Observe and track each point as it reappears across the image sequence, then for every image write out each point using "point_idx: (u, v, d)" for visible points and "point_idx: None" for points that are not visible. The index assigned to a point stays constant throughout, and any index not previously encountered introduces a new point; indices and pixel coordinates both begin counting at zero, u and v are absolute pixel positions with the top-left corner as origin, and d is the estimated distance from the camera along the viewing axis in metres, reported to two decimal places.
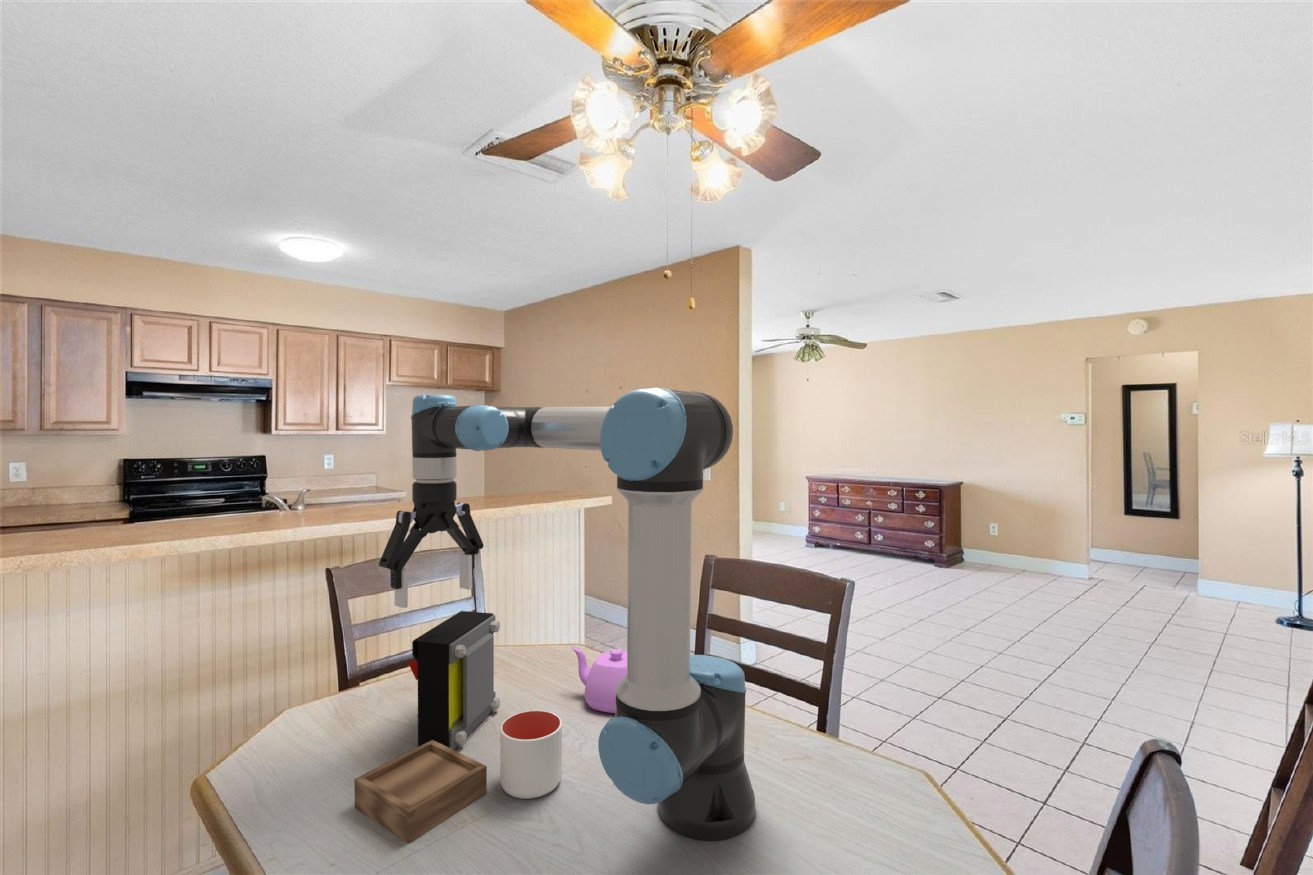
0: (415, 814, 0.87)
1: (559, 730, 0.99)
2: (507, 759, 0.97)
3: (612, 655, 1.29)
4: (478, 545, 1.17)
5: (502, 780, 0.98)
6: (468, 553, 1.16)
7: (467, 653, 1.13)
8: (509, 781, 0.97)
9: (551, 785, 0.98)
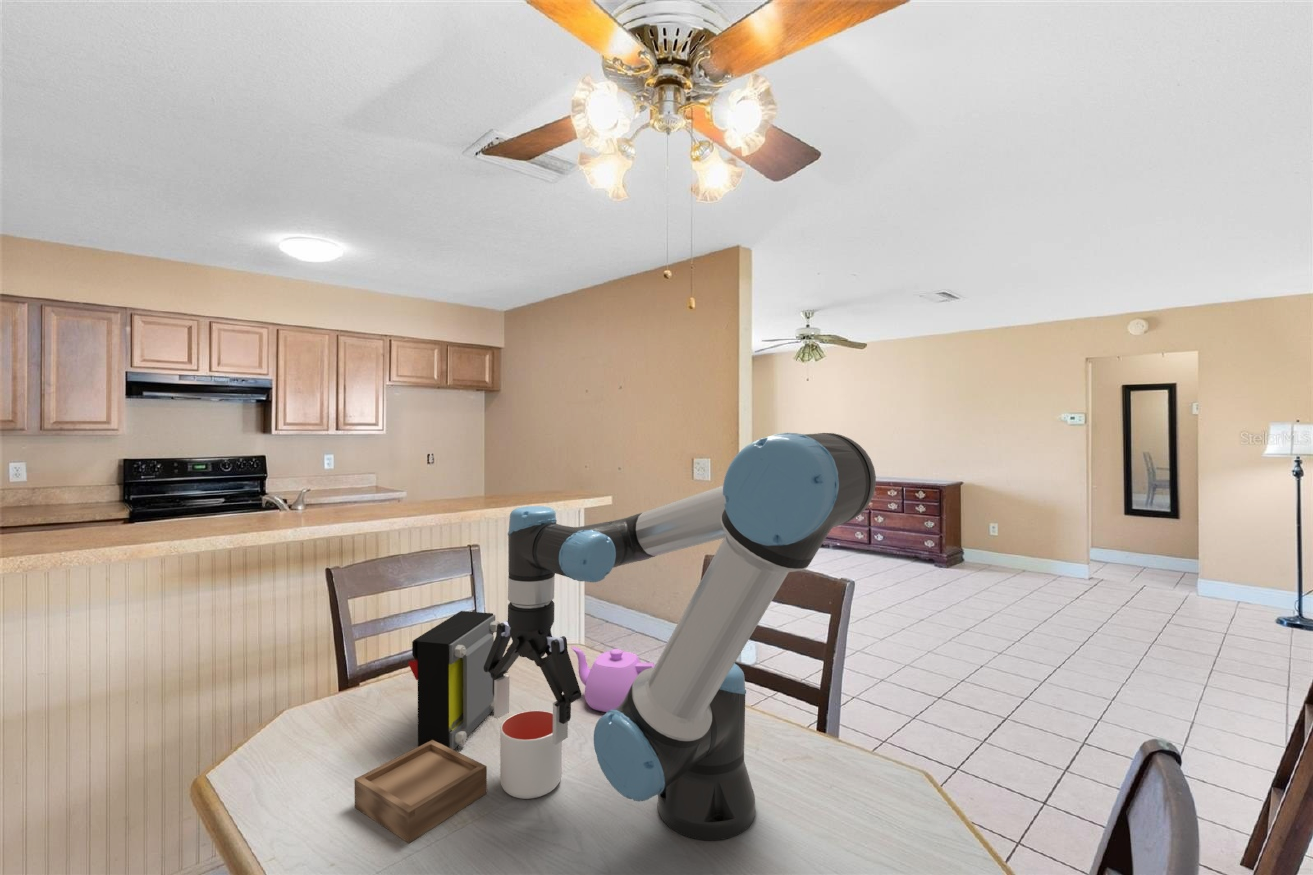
0: (415, 814, 0.87)
1: None
2: (507, 759, 0.97)
3: (612, 655, 1.29)
4: (565, 697, 0.95)
5: (502, 780, 0.98)
6: None
7: (467, 653, 1.13)
8: (509, 781, 0.97)
9: (551, 785, 0.98)
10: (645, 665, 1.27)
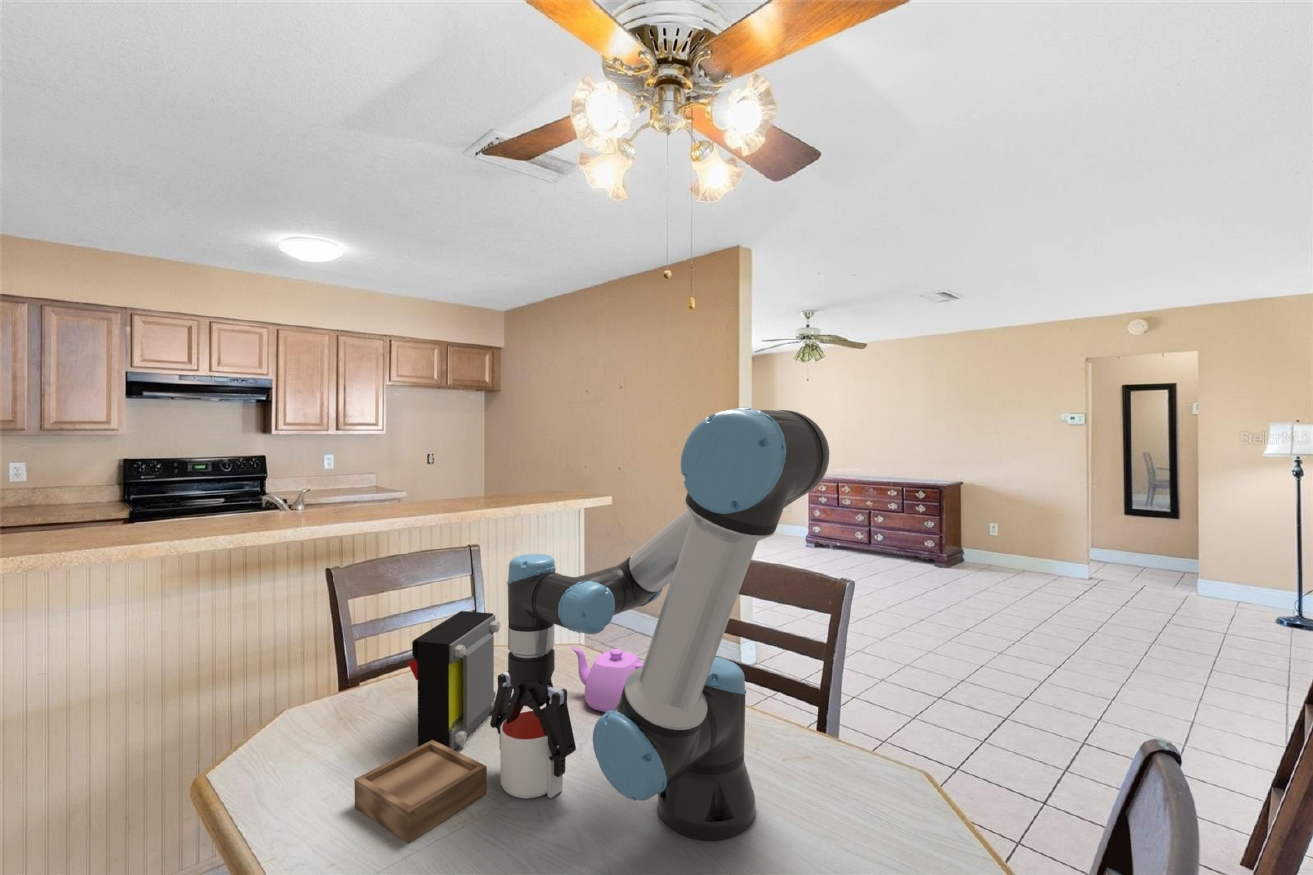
0: (415, 814, 0.87)
1: None
2: (507, 759, 0.97)
3: (612, 655, 1.29)
4: (560, 751, 0.96)
5: (502, 780, 0.98)
6: None
7: (467, 653, 1.13)
8: (509, 781, 0.97)
9: None
10: None
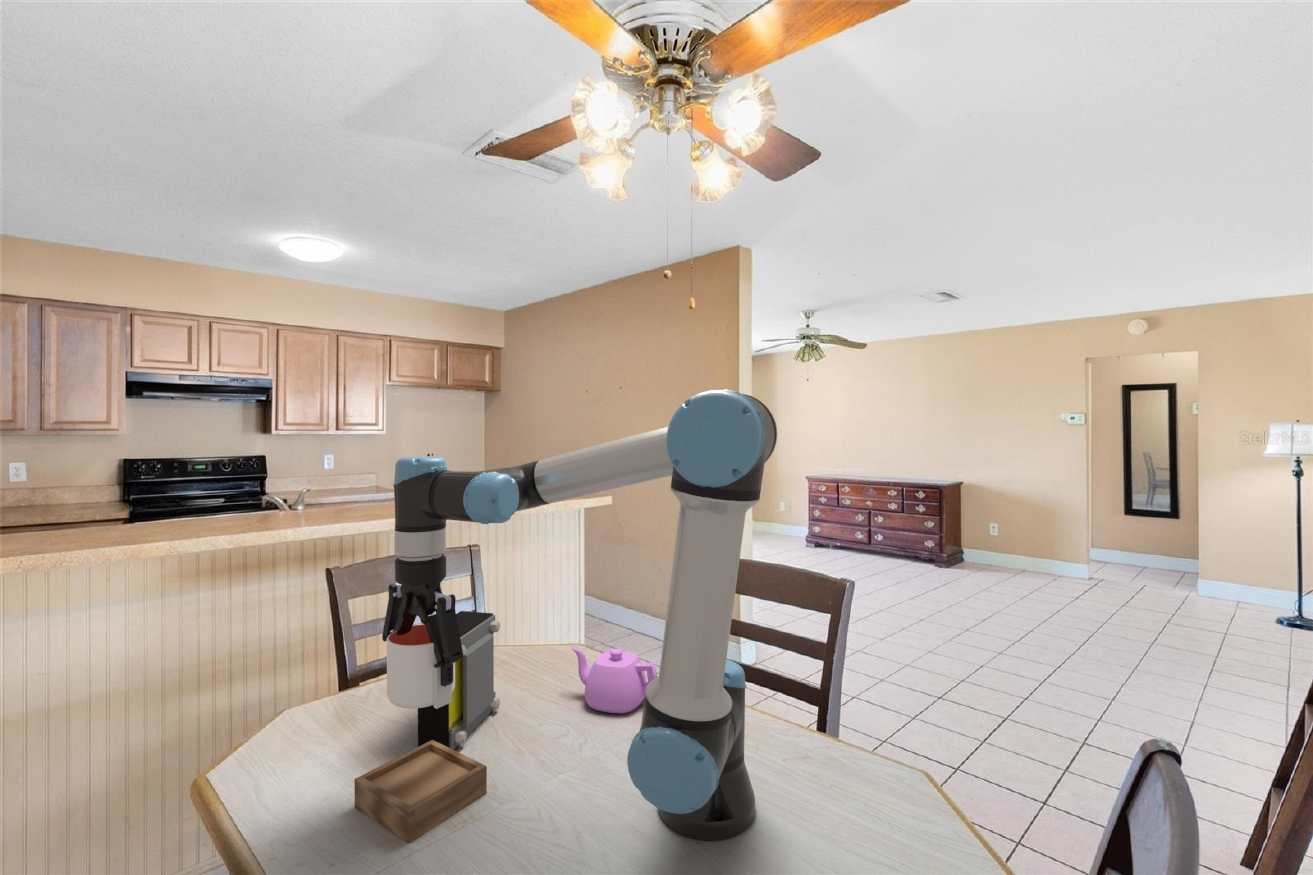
0: (415, 814, 0.87)
1: None
2: (391, 667, 0.92)
3: (612, 655, 1.29)
4: (445, 657, 0.90)
5: (387, 690, 0.93)
6: None
7: (467, 653, 1.13)
8: (393, 690, 0.91)
9: None
10: (645, 665, 1.27)
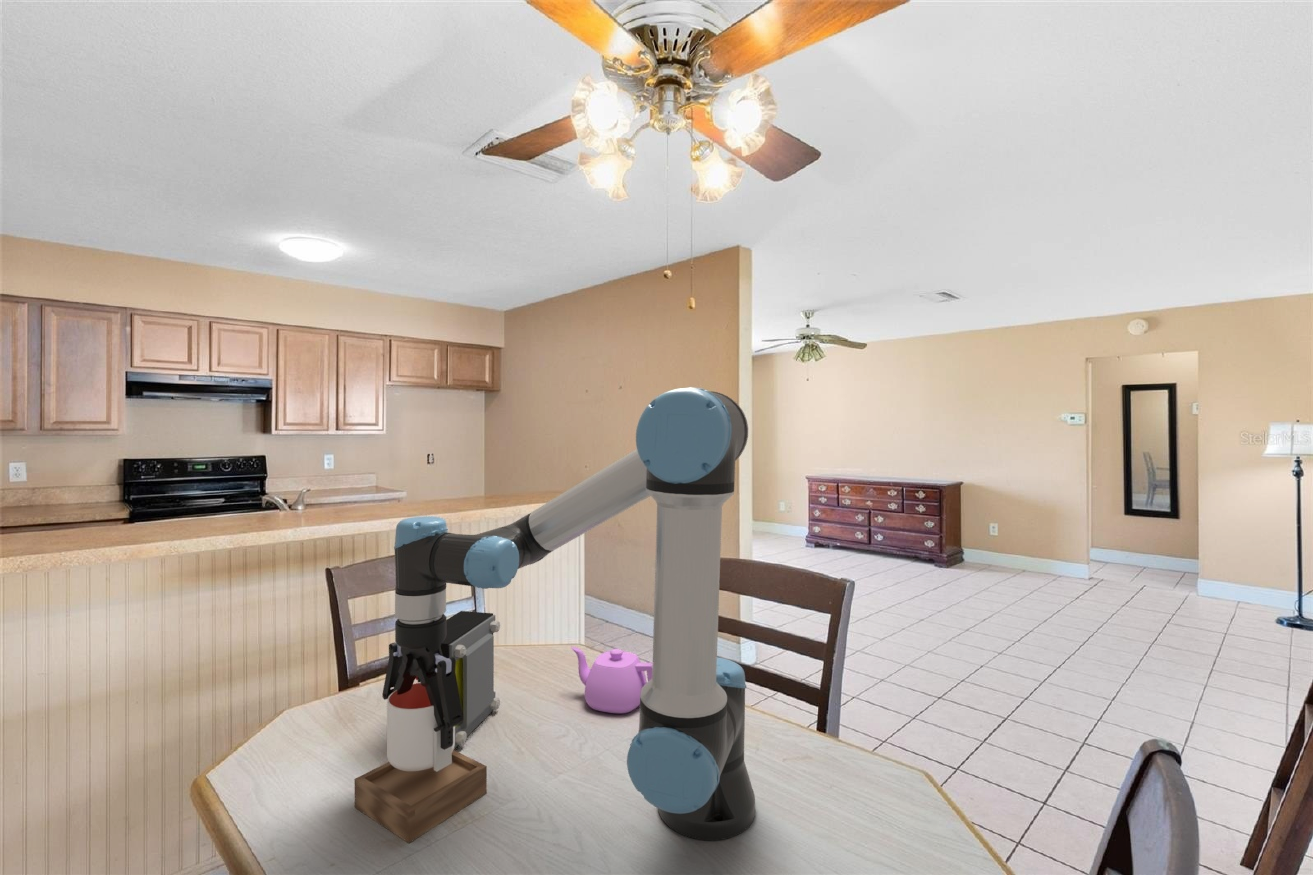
0: (415, 814, 0.87)
1: None
2: (391, 730, 0.92)
3: (612, 655, 1.29)
4: (445, 721, 0.91)
5: (387, 752, 0.93)
6: None
7: (467, 653, 1.13)
8: (393, 753, 0.92)
9: None
10: (645, 665, 1.27)
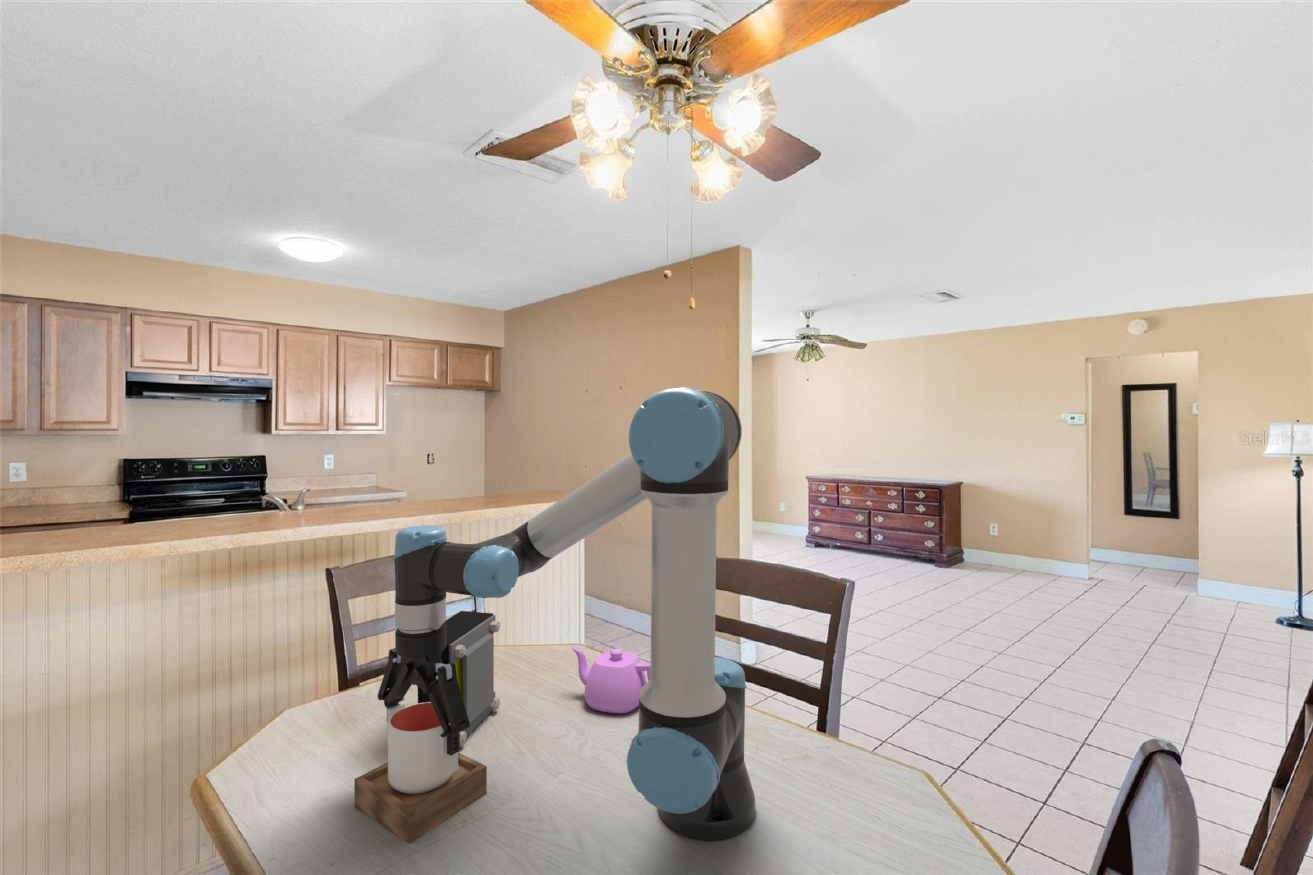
0: (415, 814, 0.87)
1: None
2: (393, 752, 0.92)
3: (612, 655, 1.29)
4: (451, 728, 0.90)
5: (388, 774, 0.93)
6: None
7: (467, 653, 1.13)
8: (394, 775, 0.92)
9: (440, 780, 0.93)
10: (645, 665, 1.27)
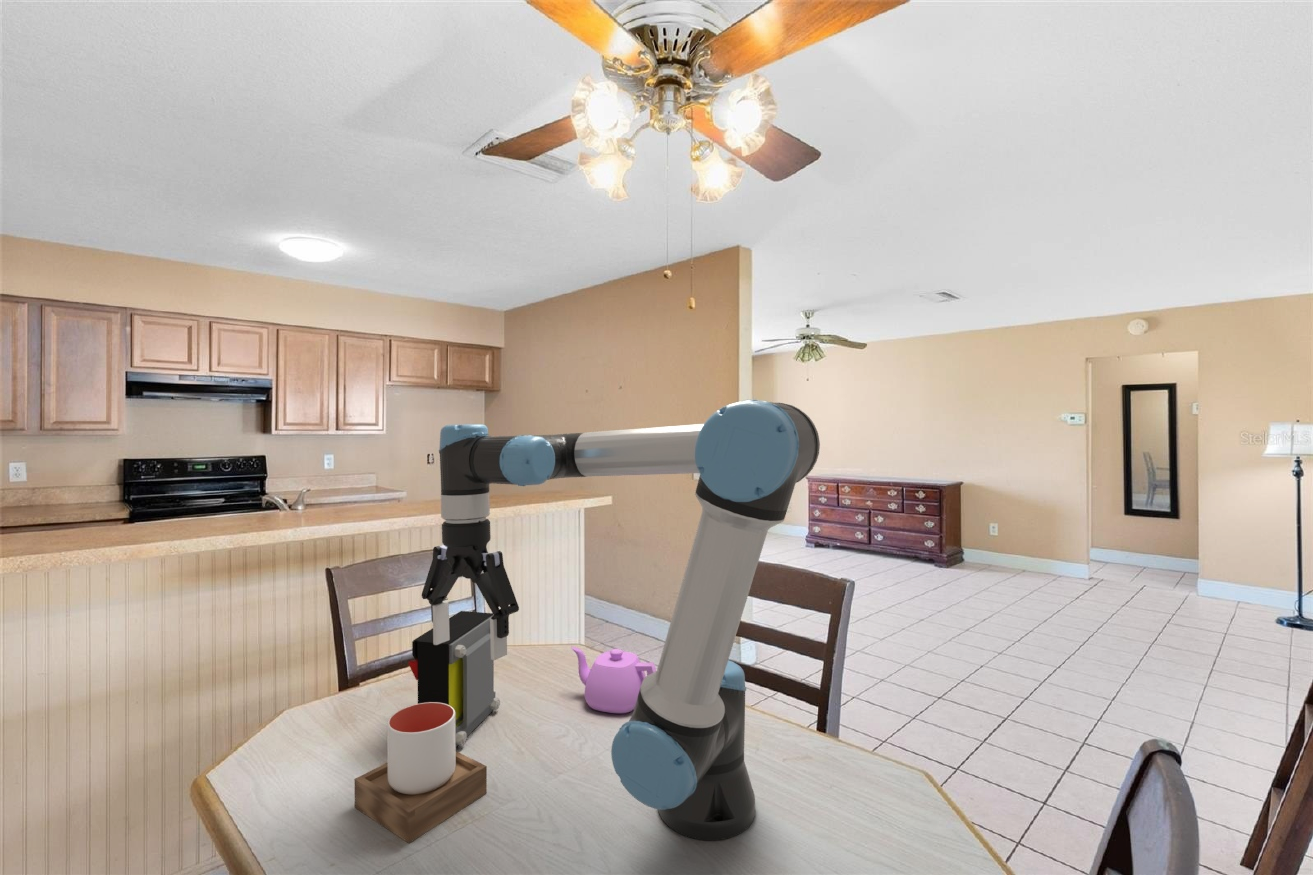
0: (415, 814, 0.87)
1: (450, 722, 0.95)
2: (392, 753, 0.92)
3: (612, 655, 1.29)
4: (502, 610, 0.93)
5: (388, 776, 0.93)
6: None
7: (467, 653, 1.13)
8: (394, 776, 0.92)
9: (440, 780, 0.93)
10: (645, 665, 1.27)
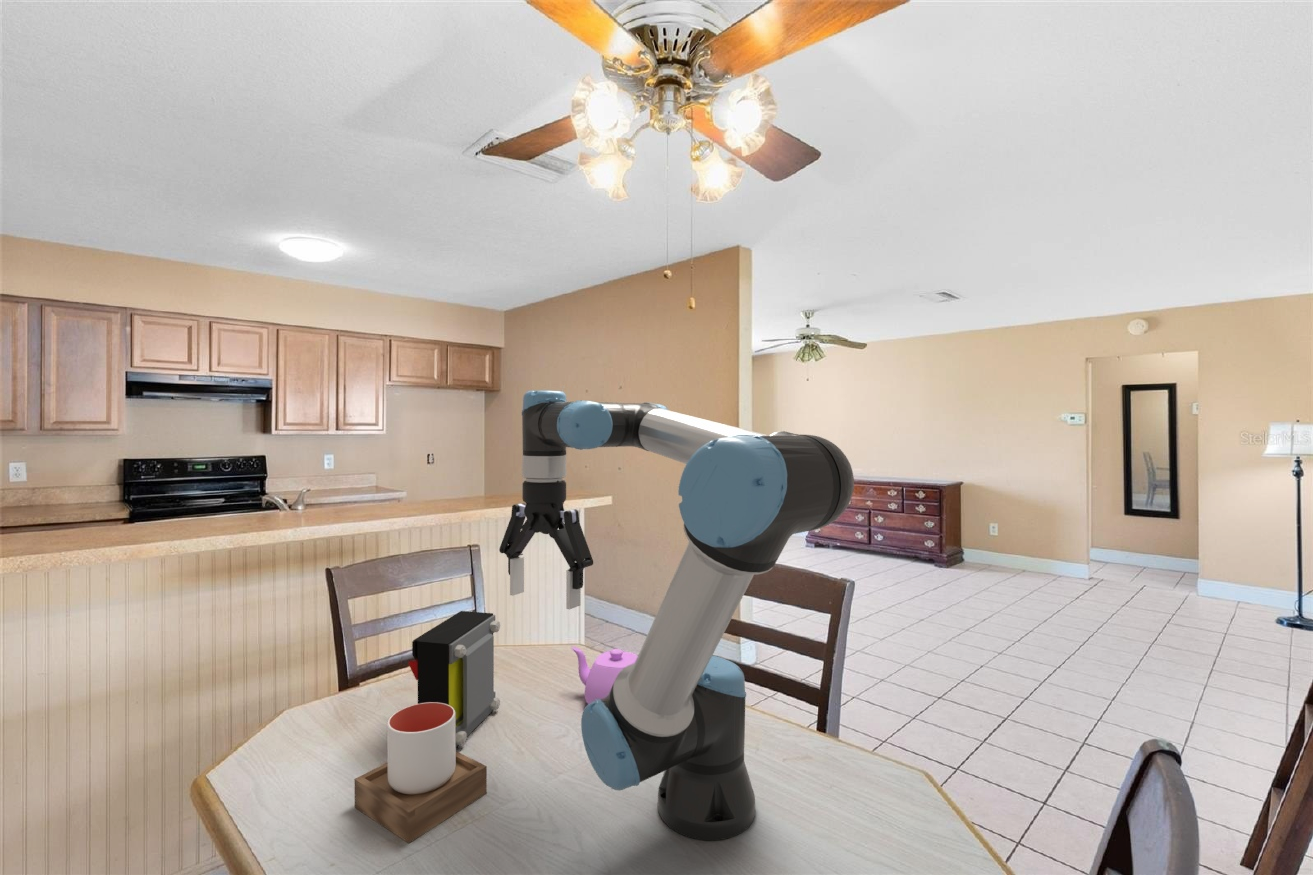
0: (415, 814, 0.87)
1: (450, 722, 0.95)
2: (392, 753, 0.92)
3: (612, 655, 1.29)
4: (578, 563, 1.00)
5: (388, 775, 0.93)
6: None
7: (467, 653, 1.13)
8: (394, 776, 0.92)
9: (440, 780, 0.93)
10: None
